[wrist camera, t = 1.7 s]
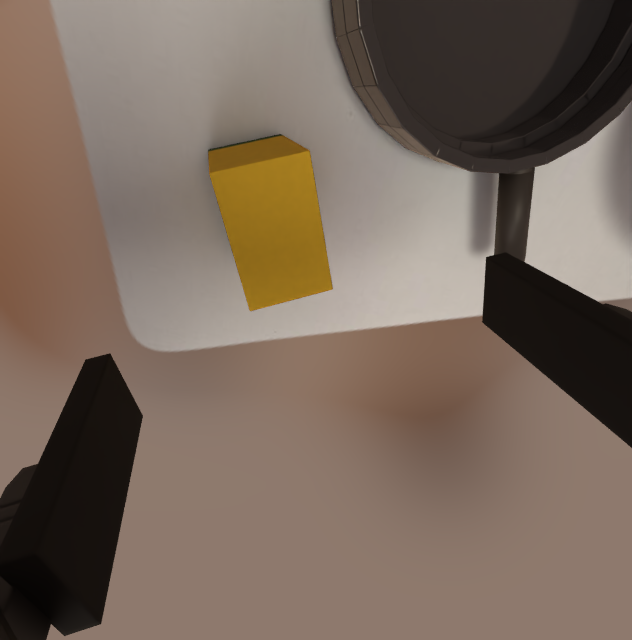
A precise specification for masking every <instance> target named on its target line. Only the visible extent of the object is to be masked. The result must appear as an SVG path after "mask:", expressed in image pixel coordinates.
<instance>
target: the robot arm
mask: <svg viewBox="0 0 632 640" xmlns="http://www.w3.org/2000/svg"><path fill="white" fill-rule="evenodd" d="M482 322H483V323H484V324H485V325H486V326H487V327H489V328H490V329H491V330H492V331H493V332H494V333H496V334H497V335H498V336H499V337H501V338H502V339H503V340H504V341H505V342H506V343H508V344H509V345H510V346H511V347H512V348H514V349H515V350H516V351H517V352H519V353H520V354H521V355H522V356H523V357H524V358H526V359H527V360H528V361H529V362H530V363H532V364H533V365H534V366H535V367H536V368H537V369H539V370H540V371H541V372H542V373H543V374H545V375H546V376H547V377H548V378H550V379H551V380H552V381H553V382H554V383H555V384H556V385H558V386H559V387H560V388H561V389H562V390H564V391H565V392H566V393H567V394H568V395H570V396H571V397H572V398H573V399H574V400H575V401H577V402H578V403H579V404H580V405H581V406H583V407H584V408H585V409H586V410H587V411H589V412H590V413H591V414H592V415H593V416H595V417H596V418H597V419H598V420H599V421H600V422H602V423H603V424H604V425H605V426H606V427H608V428H609V429H610V430H611V431H612V432H614V433H615V434H616V435H617V436H618V437H620V438H621V439H622V440H623V441H624V442H626V443H627V444H628V445H629V446H630V447H631V448H632V312H631V311H629V310H627V309H624V308H620V307H616V306H613V305H609V304H601V303H599V302H597V301H596V300H594V299H592V298H590V297H588V296H586V295H584V294H583V293H581V292H579V291H577V290H575V289H573V288H571V287H570V286H568V285H566V284H564V283H562V282H560V281H558V280H557V279H555V278H553V277H551V276H549V275H547V274H545V273H544V272H542V271H540V270H538V269H536V268H534V267H532V266H531V265H529V264H527V263H525V262H523V261H521V260H519V259H518V258H516V257H514V256H512V255H510V254H508V253H506V252H505V253H501V254H497V255H493V256H489V257H486V270H485V287H484V304H483V321H482ZM142 418H143V415H142V413H141V412H140V410H139V408H138V406H137V404H136V402H135V400H134V398H133V396H132V394H131V392H130V390H129V389H128V387H127V385H126V383H125V381H124V379H123V377H122V375H121V373H120V371H119V370H118V367H117V365H116V364H115V362H114V360H113V358H112V356H111V354H106V355H102V356H98V357H94V358H90V359H86V360H85V362H84V364H83V367H82V369H81V371H80V373H79V375H78V377H77V380H76V382H75V384H74V386H73V388H72V391H71V393H70V395H69V397H68V399H67V402H66V404H65V406H64V408H63V410H62V412H61V415H60V417H59V419H58V421H57V423H56V426H55V428H54V430H53V432H52V434H51V437H50V439H49V441H48V443H47V445H46V447H45V450H44V452H43V454H42V456H41V458H40V461H39V463H38V464H36V465H33V466H29V467H25V468H23V469H22V470H21V471H20V472H19V473H18V474H17V475H16V476H15V478H14V479H13V480H12V481H11V482H10V484H8V485H7V487H6V488H5V490H4V492H3V494H2V496H1V498H0V640H46V639H47V635H48V632H49V628H50V625H51V624H52V625H53V626H54V627H55V628H56V629H57V630H58V631H60V632H61V633H62V634H63V635H64V636H66V635H69V634H72V633H75V632H78V631H81V630H84V629H87V628H90V627H93V626H96V625H99V624H101V621H102V616H103V612H104V607H105V602H106V597H107V592H108V587H109V581H110V576H111V572H112V567H113V562H114V557H115V551H116V547H117V542H118V537H119V532H120V527H121V521H122V517H123V512H124V507H125V502H126V497H127V492H128V487H129V482H130V477H131V472H132V467H133V462H134V457H135V452H136V447H137V442H138V437H139V433H140V427H141V423H142Z"/></svg>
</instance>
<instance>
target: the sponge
mask: <svg viewBox="0 0 632 640" xmlns="http://www.w3.org/2000/svg"><path fill="white" fill-rule="evenodd" d="M208 157H209V174H210V178H211V181H212V185H213V188H214V191H215V195H216V198H217V201H218V205H219V208H220V212H221V215H222V218H223V222H224V225H225V229H226V232H227V235H228V239H229V242H230V245H231V249H232V252H233V256H234V259H235V262H236V266H237V269H238V272H239V276H240V279H241V283H242V286H243V289H244V293H245V296H246V300H247V303H248V306H249V310H250V311H253V310H257V309H260V308H264V307H268V306H272V305H275V304H279V303H283V302H287V301H291V300H294V299H298V298H302V297H306V296H309V295H313V294H317V293H321V292H325V291H328V290H332V289H333V287H332V281H331V275H330V269H329V263H328V257H327V251H326V245H325V239H324V233H323V227H322V221H321V215H320V209H319V203H318V197H317V191H316V185H315V179H314V173H313V167H312V161H311V155H310V151H309V150H308V149H306V148H304V147H302V146H301V145H299V144H297V143H295V142H294V141H292V140H290V139H289V138H287V137H285V136H283V135H281V134H279V135H274V136H270V137H265V138H260V139H256V140H251V141H247V142H242V143H237V144H233V145H228V146H224V147H219V148H214V149H210V150H208Z"/></svg>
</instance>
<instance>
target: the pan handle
mask: <svg viewBox="0 0 632 640" xmlns="http://www.w3.org/2000/svg"><path fill="white" fill-rule="evenodd" d="M534 171H535V167H533V168H528V169H524V170H520V171H516V172H512V173H507V174H504V173H499V186H498V201H497V217H496V233H495V249H494V255H497V254H501V253H505V252H506V253H508V254H510V255H512V256H514V257H516V258H518V259H519V260H521V261H523V262H524V261H525V256H526V246H527V237H528V227H529V218H530V209H531V199H532V190H533V180H534Z"/></svg>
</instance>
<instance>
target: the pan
mask: <svg viewBox="0 0 632 640" xmlns="http://www.w3.org/2000/svg"><path fill="white" fill-rule="evenodd" d="M332 8H333V17H334V25H335V34H336V37H337V42H338V45H339V48H340V51H341V54H342V57H343V60H344V62H345V65H346V68H347V71H348V74H349V77H350V80H351V83H352V85H353V86H354V89H355V91H356V92H357V94H358V95H359V97H360V98H361V100H362V101H363V103H364V104H365V106H366V107H367V109H368V110H369V112H370V114H371V115H372V117H373V118H374V120H375V121H376V123H377V124H378V125H379V126H380V127H382V128H383V129H384V130H385V131H386V132H387V133H389V134H390V135H391V136H392V137H393V138H394V139H396V140H397V141H398V142H399V143H400V144H401V145H403V146H404V147H405V148H407V149H409V150H411V151H414V152H416V153H418V154H421V155H423V156H426V157H428V158H431V159H433V160H435V161H438V162H441V163H445V164H448V165H451V166H454V167H458V168H461V169H464V170H467V171H471V172H487V173H504V174H507V173H512V172H516V171H520V170H524V169H528V168H533V167H537V166H541V165H545V164H548V163H550V162H551V161H553V160H555V159H557V158H559V157H561V156H563V155H565V154H566V153H568V152H570V151H572V150H574V149H576V148H578V147H579V146H581V145H583V144H585V143H586V142H587V141H589V140H590V139H591V138H592V137H593V136H595V135H596V134H597V133H598V132H599V131H601V130H602V129H603V128H604V127H605V126H607V125H608V124H609V123H610V122H611V121H612V120H614V119H615V118H616V117H617V116H618V115H620V114H621V112H622V111H623V110H624V109H625V108H626V106H627V105H628V104H629V103H630V102H631V100H632V0H332Z"/></svg>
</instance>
